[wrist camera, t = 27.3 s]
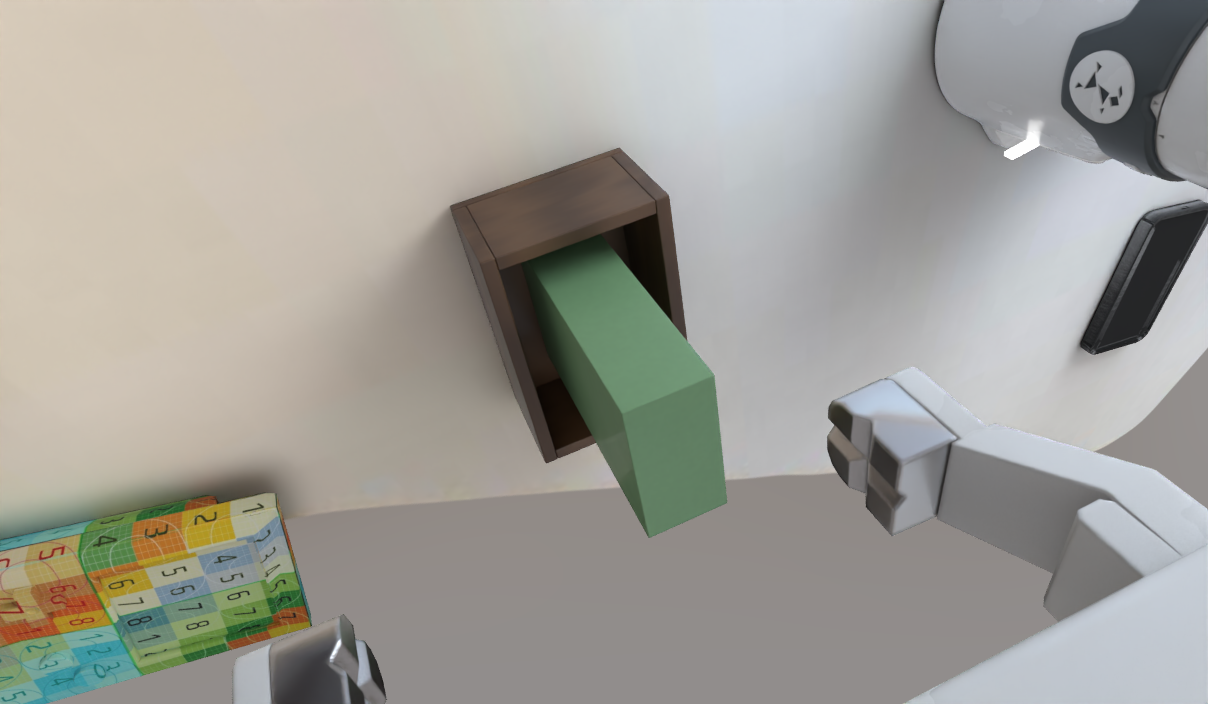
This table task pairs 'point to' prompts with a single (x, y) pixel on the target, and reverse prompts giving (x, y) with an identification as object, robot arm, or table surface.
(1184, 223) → the phone
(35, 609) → the puzzle game
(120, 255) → the table surface
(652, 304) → the tea packet
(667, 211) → the box
